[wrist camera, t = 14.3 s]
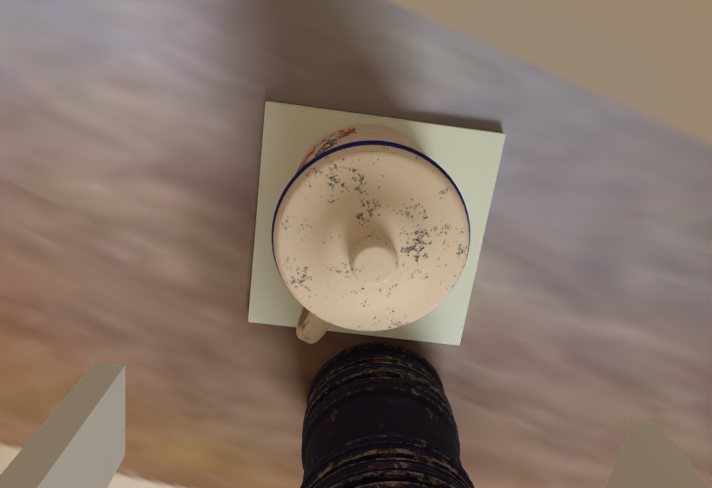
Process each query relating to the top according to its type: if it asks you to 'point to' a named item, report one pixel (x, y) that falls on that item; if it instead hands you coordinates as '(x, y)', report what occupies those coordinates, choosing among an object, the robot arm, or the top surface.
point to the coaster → (439, 142)
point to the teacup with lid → (368, 232)
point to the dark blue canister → (380, 423)
